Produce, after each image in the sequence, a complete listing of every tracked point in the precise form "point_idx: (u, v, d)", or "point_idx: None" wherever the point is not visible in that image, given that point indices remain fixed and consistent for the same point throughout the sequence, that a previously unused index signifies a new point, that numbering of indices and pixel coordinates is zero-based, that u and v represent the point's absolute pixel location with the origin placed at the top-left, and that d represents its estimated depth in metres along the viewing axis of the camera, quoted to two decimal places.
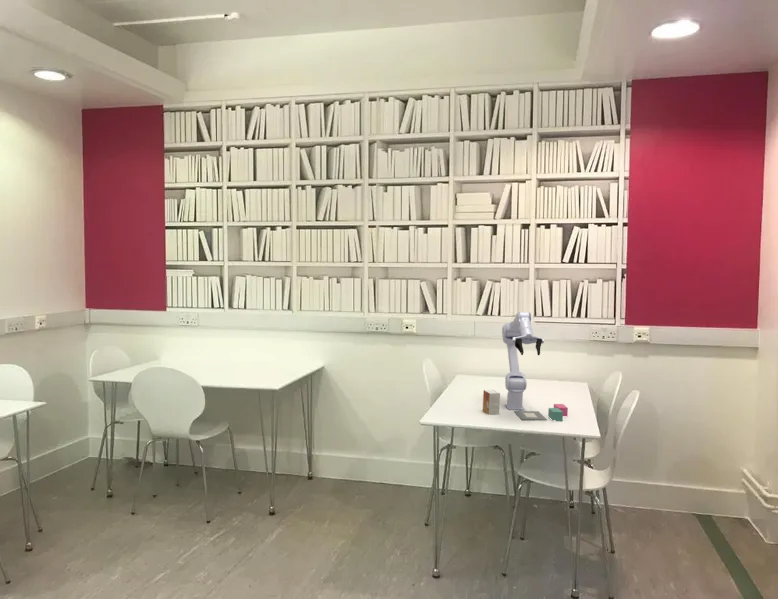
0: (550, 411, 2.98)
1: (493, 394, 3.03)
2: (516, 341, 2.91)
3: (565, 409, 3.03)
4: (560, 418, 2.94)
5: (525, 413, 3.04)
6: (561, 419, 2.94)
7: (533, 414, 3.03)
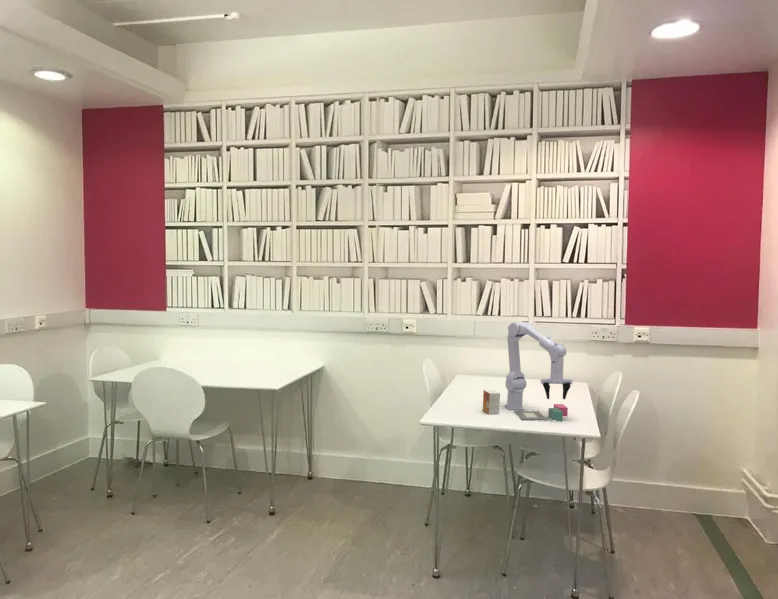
0: (550, 411, 2.98)
1: (493, 394, 3.03)
2: (544, 386, 2.95)
3: (565, 409, 3.03)
4: (560, 418, 2.94)
5: (525, 413, 3.04)
6: (561, 419, 2.94)
7: (533, 414, 3.03)
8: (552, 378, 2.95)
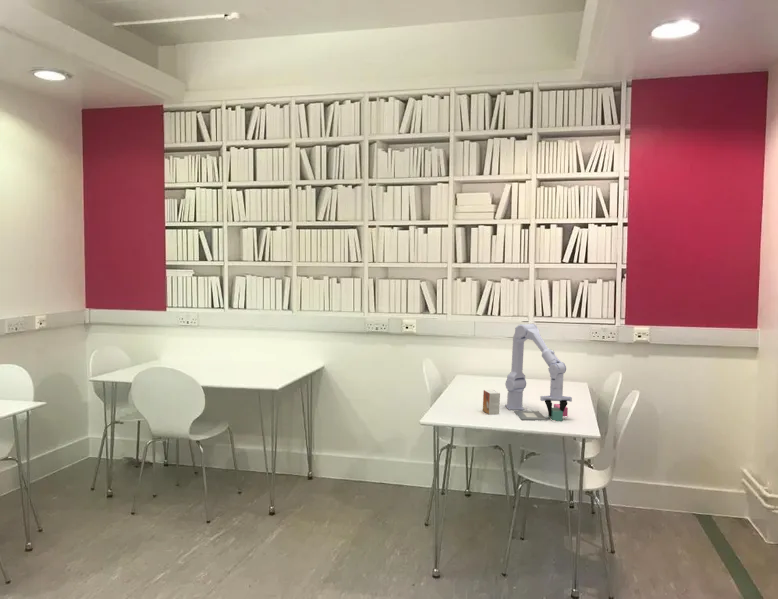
0: None
1: (493, 394, 3.03)
2: (546, 403, 2.96)
3: (565, 409, 3.03)
4: (560, 417, 2.94)
5: (525, 413, 3.04)
6: (561, 419, 2.94)
7: (533, 414, 3.03)
8: (552, 395, 2.96)
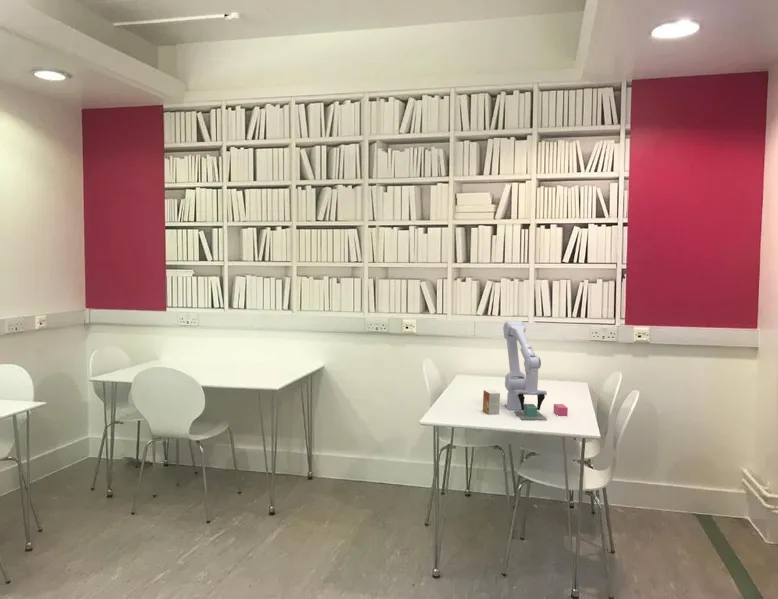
0: (525, 407, 3.02)
1: (493, 394, 3.03)
2: (519, 397, 3.00)
3: (565, 409, 3.03)
4: (534, 414, 2.98)
5: None
6: (536, 415, 2.98)
7: None
8: (527, 389, 2.99)
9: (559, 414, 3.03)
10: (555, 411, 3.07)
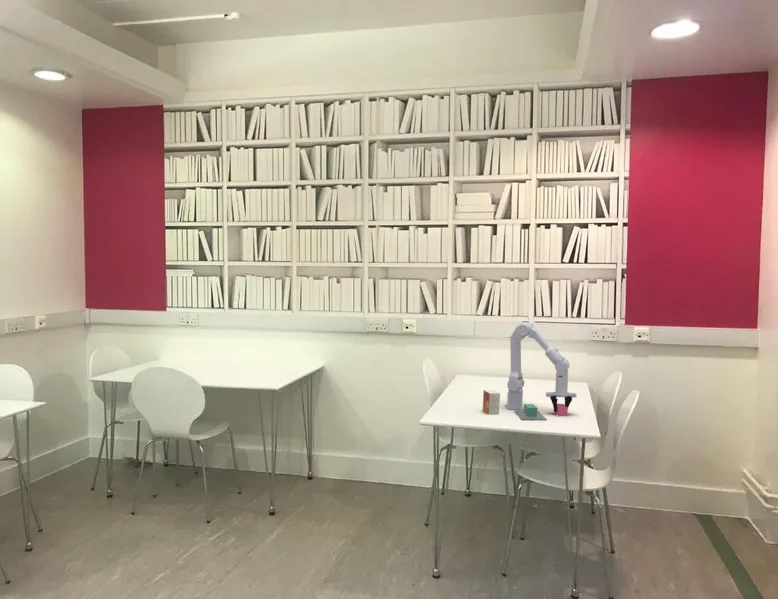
0: (525, 407, 3.02)
1: (493, 394, 3.03)
2: (552, 399, 3.05)
3: (565, 409, 3.03)
4: (534, 414, 2.98)
5: None
6: (536, 415, 2.98)
7: None
8: (557, 392, 3.05)
9: (559, 414, 3.03)
10: None
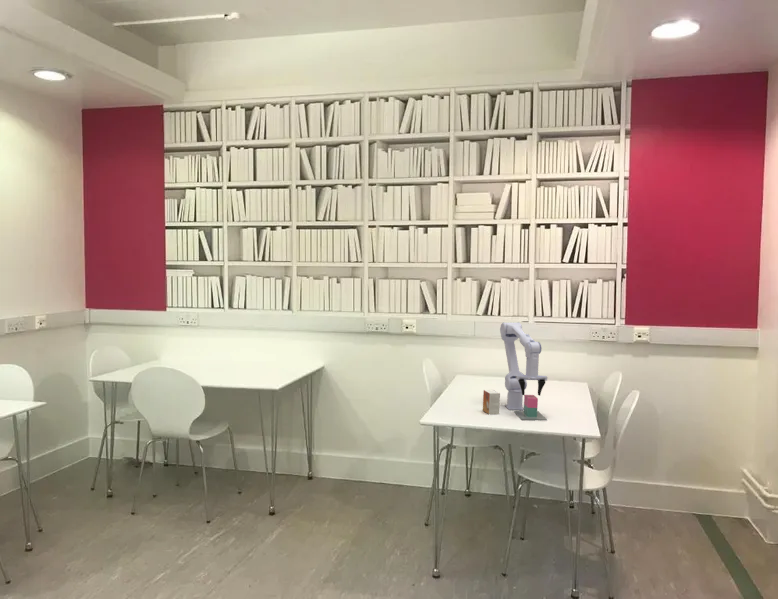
0: (525, 407, 3.02)
1: (493, 394, 3.03)
2: (519, 382, 2.99)
3: (535, 400, 2.97)
4: (534, 414, 2.98)
5: None
6: (536, 415, 2.98)
7: None
8: (527, 374, 2.99)
9: (529, 405, 2.97)
10: (525, 402, 3.02)
